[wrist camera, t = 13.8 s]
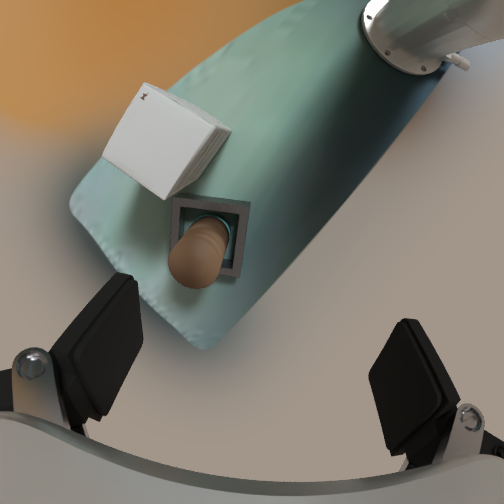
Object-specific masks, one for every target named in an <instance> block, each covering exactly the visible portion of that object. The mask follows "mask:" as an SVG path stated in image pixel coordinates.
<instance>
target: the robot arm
mask: <svg viewBox="0 0 504 504" xmlns="http://www.w3.org/2000/svg"><path fill="white" fill-rule="evenodd" d="M361 22H362V28H363V31H364V34H365V36H366V38H367V40H368V42H369V43H370V45H371V46H372V48H373V49H374V50H375V51H376V53H377V54H378V55H379V56H380V57H381V58H382V59H384V60H385V61H386V62H387V63H388V64H390V65H391V66H393V67H394V68H396V69H398V70H400V71H402V72H405V73H408V74H411V75H426V74H429V73H432V72H434V71H436V70H437V69H438V68H439V67H440V65H441V63H442V61H445V62H447V63H450V62H452V63H453V64H455V65H456V66H458V67H459V68H461V69H462V70H464V71H467V70H468V69H469V68H470V63H469V61H468V60H467V59H465V58H464V57H462V56H460V55H458V54H456V53H455V52H458V51H461V50H464V49H467V48H470V47H474V46H477V45H481V44H484V43H488V42H492V41H496V40H500V39H504V0H371V1H370V2H369V3H368V4H367V5H366V6H365V7H364V10H363V12H362V17H361ZM142 344H143V331H142V322H141V313H140V303H139V291H138V282H137V281H136V280H134V278H133V276H132V275H128V274H124V273H119V272H117V273H115V274H114V275H113V277H112V278H111V279H110V280H109V281H108V282H107V283H106V284H105V285H104V286H103V287H102V288H101V290H100V291H99V292H98V293H97V294H96V295H95V296H94V297H93V299H92V300H91V301H90V302H89V303H88V304H87V305H86V306H85V308H84V309H83V310H82V311H81V312H80V313H79V315H78V316H77V317H76V318H75V319H74V320H73V322H72V323H71V324H70V325H69V326H68V328H67V329H66V330H65V331H64V333H63V334H62V335H61V336H60V337H59V339H58V340H57V341H56V342H55V344H54V345H53V346H52V348H51V349H50V351H49V352H47V351H45V350H44V349H42V348H37V347H34V348H33V347H32V348H28V349H25V350H23V351H21V352H20V353H19V354H18V355H17V356H16V357H15V359H14V361H13V365H12V368H11V369H7V370H3V371H0V504H504V442H503V441H501V440H500V439H498V438H497V437H495V436H493V435H492V434H490V433H488V432H487V431H485V430H484V426H485V425H484V424H485V421H484V417H483V415H482V413H481V411H480V410H479V409H478V408H477V407H475V406H474V405H472V404H462V405H461V406H460V407H459V408H458V409H457V406H456V405H457V403H458V402H459V401H460V400H461V399H460V397H459V395H458V393H457V391H456V389H455V387H454V385H453V383H452V380H451V378H450V377H449V375H448V373H447V371H446V369H445V367H444V365H443V363H442V361H441V359H440V358H439V356H438V354H437V352H436V350H435V349H434V347H433V345H432V343H431V341H430V340H429V338H428V336H427V335H426V333H425V331H424V330H423V328H422V326H421V325H420V323H419V321H418V320H416V319H407V318H404V319H402V320H401V321H400V322H398V323H397V324H396V326H395V328H394V329H393V332H392V333H391V335H390V337H389V339H388V340H387V342H386V344H385V346H384V348H383V349H382V351H381V353H380V354H379V356H378V358H377V359H376V361H375V363H374V364H373V366H372V368H371V369H370V372H369V382H370V385H371V389H372V392H373V396H374V400H375V403H376V407H377V411H378V415H379V419H380V423H381V426H382V431H383V435H384V439H385V443H386V447H387V449H388V450H390V453H391V456H397V455H402V454H404V453H406V456H407V457H406V459H405V461H404V463H403V465H402V467H401V468H400V470H399V472H396V473H392V474H386V475H380V476H374V477H367V478H359V479H351V480H339V481H325V482H273V481H257V480H246V479H238V478H229V477H223V476H216V475H210V474H205V473H199V472H194V471H190V470H185V469H180V468H177V467H172V466H169V465H164V464H161V463H158V462H154V461H151V460H147V459H144V458H141V457H138V456H135V455H132V454H129V453H126V452H123V451H120V450H117V449H115V448H112V447H109V446H107V445H104V444H102V443H99V442H97V441H94V440H92V439H90V438H89V435H88V433H87V429H86V426H85V423H86V421H87V419H88V417H89V418H92V419H94V420H96V421H99V422H100V420H101V418H102V416H106V415H107V414H108V413H109V411H110V409H111V407H112V405H113V402H114V400H115V398H116V396H117V394H118V392H119V390H120V388H121V386H122V384H123V382H124V380H125V378H126V376H127V374H128V372H129V370H130V368H131V366H132V364H133V362H134V360H135V358H136V356H137V354H138V353H139V351H140V349H141V347H142Z"/></svg>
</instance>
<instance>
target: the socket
mask: <svg viewBox="0 0 504 504" xmlns="http://www.w3.org/2000/svg"><path fill="white" fill-rule="evenodd" d="M250 203H251V202H246V201H238V200H231V199H224V198H216V197H208V196H200V195H191V194H183V193H178V194H177V195H175V196H174V197H173V200H172V217H171V241H170V252H171V251H172V249H173V248H174V247H175V245H176V244H177V243H178V241H179V240H180V239H181V238H182V236H183V235H184V220H185V207H190V208H198V209H206V210H213V211H221V212H228V213H235V214H240V216H239V223H238V231H237V238H236V246H235V254H234V261H232V260H226V259H223V261H222V264H221V268H220V271H219V275H226V276H232V277H239V278H240V273H241V266H242V259H243V252H244V245H245V238H246V231H247V224H248V217H249V210H250Z"/></svg>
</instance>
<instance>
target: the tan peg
mask: <svg viewBox="0 0 504 504" xmlns="http://www.w3.org/2000/svg"><path fill="white" fill-rule="evenodd" d="M230 235H231V229H230V226H229V223H228V222H227V220H226V219H225V218H224V217H222V216H221V215H219V214H216V213H205V214H202V215H200V216H199V217H198V218H197V219H196V220H195V221H194V222H193V224H192V225H191V226H190V227H189V229H188V230H187V231H186V232H185V234H184V235H183V236H182V238H181V239H180V240H179V241H178V243H177V244H176V245H175V247H174V248H173V249H172V251H171V252H170V255H169V258H168V266H169V270H170V272H171V274H172V276H173V277H174V278H175V279H176V280H177V281H178V282H179V283H180V284H182V285H184V286H186V287H189V288H193V289H200V288H205V287H207V286H209V285H211V284H212V283H213V282H214V281H215V280H216V278H217V276H218V274H219V271H220V268H221V264H222V261H223V258H224V255H225V252H226V248H227V245H228V242H229V239H230Z"/></svg>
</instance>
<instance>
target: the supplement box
mask: <svg viewBox="0 0 504 504" xmlns="http://www.w3.org/2000/svg"><path fill="white" fill-rule="evenodd" d="M231 132H232V130H231V129H229V128H228V127H226V126H225V125H224V124H222V123H221V122H220V121H218V120H217V119H215V118H214V117H212V116H211V115H209V114H208V113H206V112H205V111H203V110H201V109H200V108H198V107H196V106H195V105H193V104H191V103H189V102H188V101H186V100H184V99H182V98H179V97H177V96H175V95H173V94H171V93H169V92H166V91H164V90H162V89H160V88H157V87H155V86H152V85H150V84H148V83H143V85H142V87H141V88H140V90H139V91H138V93H137V94H136V96H135V98H134V99H133V101H132V102H131V104H130V106H129V107H128V109H127V110H126V112H125V114H124V115H123V117H122V119H121V120H120V122H119V124H118V126H117V128H116V129H115V131H114V133H113V135H112V137H111V138H110V140H109V142H108V144H107V146H106V148H105V150H104V152H103V154H102V157H103V158H104V159H106V160H107V161H109V162H110V163H111V164H113V165H114V166H115V167H117V168H118V169H120V170H121V171H123V172H124V173H125V174H127V175H128V176H130V177H131V178H132V179H134V180H135V181H137V182H138V183H139V184H141V185H142V186H144V187H145V188H147V189H148V190H150V191H151V192H152V193H154V194H155V195H157V196H158V197H160V198H161V199H162V200H166V199H167V198H169V197H170V196H172V195H173V194H175V193H176V192H178V191H179V190H181V189H182V188H184V187H186V186H187V185H189V184H191V183H192V182H194V181H195V180H197V179H198V178H199V177H200V175H201V174H202V172H203V171H204V169H205V168H206V167H207V165H208V164H209V162H210V161H211V160H212V158H213V157H214V155H215V154H216V153H217V151H218V150H219V148H220V147H221V146H222V144H223V143H224V142H225V140H226V139H227V138H228V136H229V135H230V133H231Z"/></svg>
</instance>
